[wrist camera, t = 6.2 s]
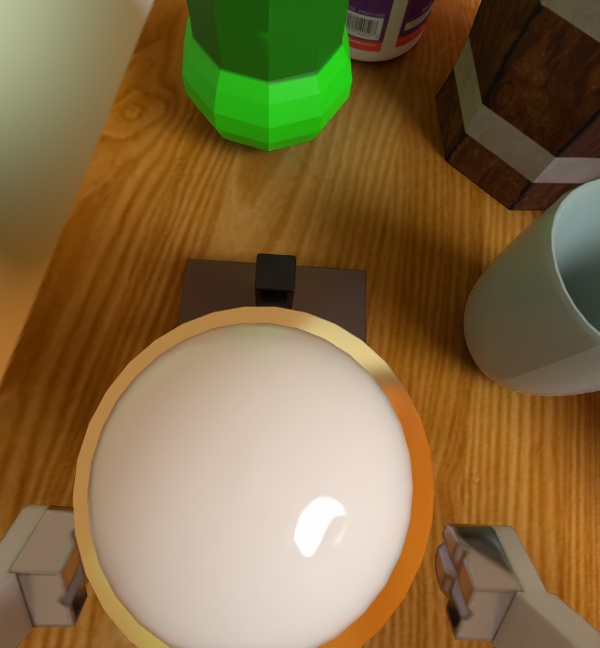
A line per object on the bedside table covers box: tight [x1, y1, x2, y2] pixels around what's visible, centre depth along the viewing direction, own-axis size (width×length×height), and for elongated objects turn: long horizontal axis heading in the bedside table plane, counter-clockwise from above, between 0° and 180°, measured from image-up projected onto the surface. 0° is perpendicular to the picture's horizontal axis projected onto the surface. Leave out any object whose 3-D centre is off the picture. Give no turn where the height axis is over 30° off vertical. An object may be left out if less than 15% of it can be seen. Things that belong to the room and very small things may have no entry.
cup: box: [463, 178, 600, 396], centre depth 21 cm, size 8×8×10 cm
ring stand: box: [178, 253, 366, 344], centre depth 20 cm, size 16×11×7 cm, turn 178°
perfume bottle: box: [73, 307, 435, 648], centre depth 13 cm, size 6×6×20 cm
